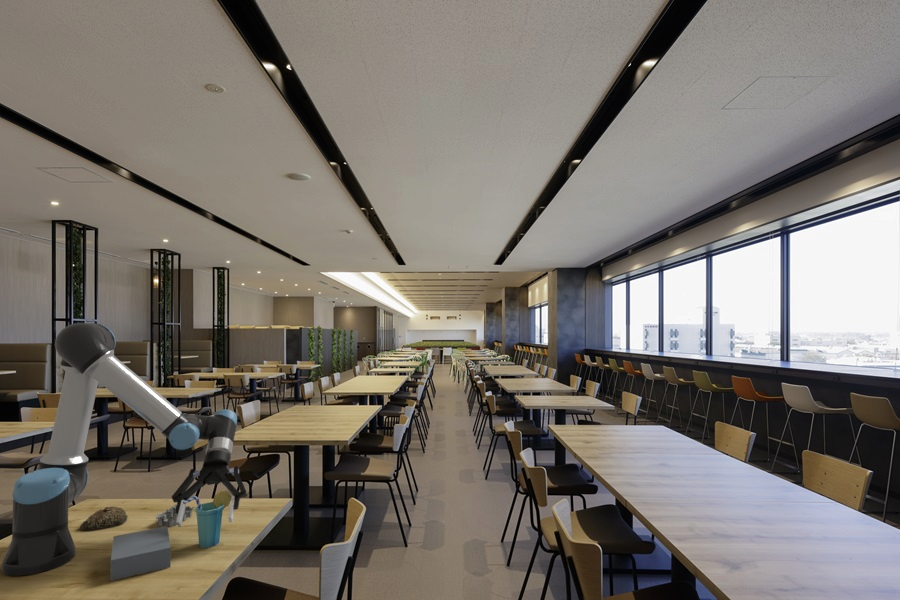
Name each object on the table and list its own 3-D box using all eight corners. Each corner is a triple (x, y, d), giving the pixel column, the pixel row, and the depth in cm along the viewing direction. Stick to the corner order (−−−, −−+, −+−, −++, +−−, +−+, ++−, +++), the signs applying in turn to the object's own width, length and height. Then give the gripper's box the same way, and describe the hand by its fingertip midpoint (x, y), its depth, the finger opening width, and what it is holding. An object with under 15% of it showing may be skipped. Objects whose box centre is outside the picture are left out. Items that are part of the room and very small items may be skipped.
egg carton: (174, 528, 157) (174, 515, 157) (152, 527, 158) (153, 514, 158) (196, 515, 167) (196, 503, 167) (175, 514, 168) (175, 502, 168)
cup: (191, 557, 136) (192, 501, 137) (174, 551, 140) (175, 497, 140) (236, 538, 148) (236, 487, 149) (219, 533, 152) (220, 483, 152)
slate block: (110, 581, 124) (110, 560, 124) (113, 554, 138) (113, 536, 138) (170, 567, 131) (170, 547, 131) (167, 543, 145) (167, 525, 145)
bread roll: (123, 527, 158) (123, 511, 158) (76, 534, 153) (76, 517, 154) (131, 513, 170) (132, 498, 170) (88, 519, 165) (88, 504, 165)
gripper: (261, 459, 162) (252, 524, 147) (177, 464, 157) (159, 532, 142) (258, 446, 158) (249, 512, 142) (172, 451, 152) (153, 520, 137)
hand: (204, 522), depth 142 cm, fingers open, 13 cm apart
